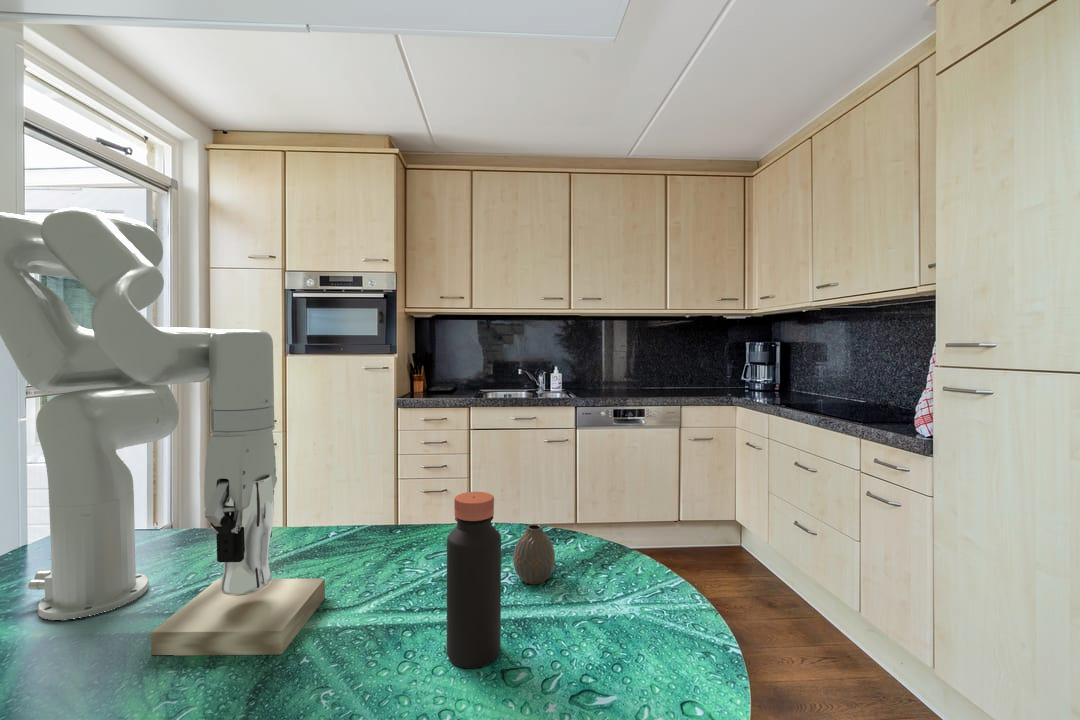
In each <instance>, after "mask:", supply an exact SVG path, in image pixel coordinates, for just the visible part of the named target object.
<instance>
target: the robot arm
mask: <svg viewBox="0 0 1080 720" xmlns="http://www.w3.org/2000/svg"><path fill="white" fill-rule="evenodd" d="M163 255H164V246H163V244H162V240H161V238H160V237H159V235H158V234H157V233H156V231H155V230H154V229H153V228H152V227H150V226H149V225H147V224H146V223H144V222H142V221H139V220H137V219H133V218H129V217H125V216H124V217H123V216H120V215H115V214H112V213H111V214H110V213H105V212H101V211H99V210H98V211H97V210H93V209H92V210H91V209H88V208H81V207H80V208H79V207H69V208H68V207H67V208H62V209H58V210H55V211H53V212H51V213H49V214H48V215H47V216H45V217H44V219H43V218H38V217H33V216H27V215H22V214H16V213H7V212H0V338H1V339H2V341H3V343H4V345H5V347H6V348H7V351H8V352H9V354H10V356H11V358H12V359H13V362H14V364H15V365H16V367H17V369H18V370H19V372H20V374H21V376H22V377H23V379H24V380H25V381H26V383H28V384H29V385H30V386H31V387H32V388H33V389H36V390H38V391H41V392H49V393H51V392H56V393H58V392H65V393H61V394H59V395H56V396H54V397H52V398H51V399H48V401H46V402H45V403H44V404H43V405H42V406H41V407H40V409H39V411H38V412H37V416H36V420H35V427H36V433H37V437H38V441H39V443H40V447H41V449H42V453H43V457H44V461H45V467H46V475H47V487H48V488H47V489H48V506H49V509H48V510H49V532H50V533H49V537H50V540H49V541H50V561H51V562H50V563H51V564H50V565H51V566H50V567H51V569H41V570H39V571H37V572H36V574H35V575H34V579H32V580H31V581H30V582H29V583H28V585H27V588H28V589H29V590H30V591H31V590H32V591H33V590H35V591H36V590H37V591H39V590H44V597H43V598H42V599H41V600H40V601H39V603H38V604H37V615H38V616H39V617H40V618H41V619H44V620H47V619H48V620H49V621H54V620H61V621H67V620H66V619H73V618H79V617H86V616H89V615H94V614H97V613H101V612H104V611H108V610H111V609H114V608H117V607H119V606H121V607H123V606H122V605H124V606H126V605H128V604H130V603H132V602H133V600H134V601H135V600H137V599H138V597H139V598H140V597H142V596H143V594H145V593H146V592H147V591H148V590H149V586H150V582H149V577H147V575H144V574H142V573H138V572H137V570H136V569H137V565H136V561H137V560H136V531H135V530H136V526H135V492H134V479H133V475H132V473H131V470H130V468H129V467H128V466H127V464H126V463H125V462H124V461H123V460H122V458H120V456H119V455H118V453H117V450H120V449H123V448H129V447H134V446H138V445H144V444H148V443H152V442H157V441H160V440H162V439H164V438H166V437H168V436H169V435H171V434H172V433H173V432H174V431H175V430H176V428H177V427H178V423H179V420H180V419H179V418H180V411H179V406H178V403H177V400H176V397H175V395H174V393H173V392H172V390H171V388H170V386H169V385H177V384H188V383H202V382H203V383H204V382H209V406H210V436H209V438H208V439H209V440H208V444H207V450H206V457H205V458H206V459H205V467H204V469H205V470H204V486H203V487H204V488H203V489H204V493H203V494H204V495H203V499H204V509H205V510H204V517H205V518H206V519H207V520H208V521H209V524H210V526H211V527H212V528H213V533H214V534H215V535H216V561H217V562H218V563H224V562H241V561H242V560H243V559H244V530H243V531H240V527H241V522H242V517H243V509H245V508H247V507H248V506H249V503H250V499H251V494H252V489H253V482H256V481H260V480H263V479H266V478H268V477H269V474H271V475H272V485H273V494H274V495H275V488H276V485H277V481H278V478H277V466H276V465H277V463H276V449H275V443H274V442H275V440H274V434H273V431H274V430H275V386H274V384H275V383H274V374H275V373H274V341H273V338H272V335H270V333H268V332H267V331H264V330H261V329H218V328H210V327H209V328H207V327H177V326H176V327H175V326H174V327H172V326H170V327H169V326H156V325H154V324H153V323H151V322H150V321H149V320H148V319H147V318H146V317H145V316H144V315H143V314H142V312H140V311H141V310H144V309H145V308H147V307H149V306H151V304H153V303H154V302H155V301H156V300H157V299H158V298H159V296H160V295H161V293H162V292H163V289H164V286H165V281H164V280H165V279H164V277H163V274H162V273H161V271H160V270H159V269H158V266H159V265H160V264H161V262H162V260H163V257H164V256H163ZM31 274H35V275H46V276H55V277H63V278H64V277H66V278H72V279H73V278H75V279H76V281H78V282H79V284H80V285H81V286H82V287H83V288H84V289H85V290H86V291H87V292H88V293H89V294H90V295H91V296H92V297H93V298H94V299H95V301H94V302H93V306H92V309H91V316H90V317H91V329H90V328H86V327H83V326H81V325H80V324H79V323H78V322H77V321H76V319H75V318H74V316H73V315H72V312H71V310H70V309H69V307H68V305H67V304H66V303H65V301H64V300H63V299H62V298H61V297H60V296H59V295H58V294H57V293H56V292H55V291H54V290H52V289H51V288H49V286H47V285H45V284H43V283H42V282H41V281H39V280H38V279H36V278H35V277H33V276H32V275H31ZM230 497H231V499H232V501H235V506H234V507H224V505H225V503H226V501H227V500H228V499H229V498H230ZM225 513H234V518H233V521H232V520H231V519H230V518H229V517H228V516H225ZM272 537H273V530H272V531H271V536H270V539H271V538H272ZM131 601H132V602H131ZM129 602H130V603H129ZM127 603H128V604H127ZM125 604H126V605H125ZM119 608H120V607H119ZM117 609H118V608H117ZM114 610H115V609H114ZM111 611H112V610H111ZM108 612H109V611H108ZM94 616H95V615H94ZM86 618H87V617H86ZM64 619H65V620H64ZM48 620H47V621H48Z"/></svg>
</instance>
